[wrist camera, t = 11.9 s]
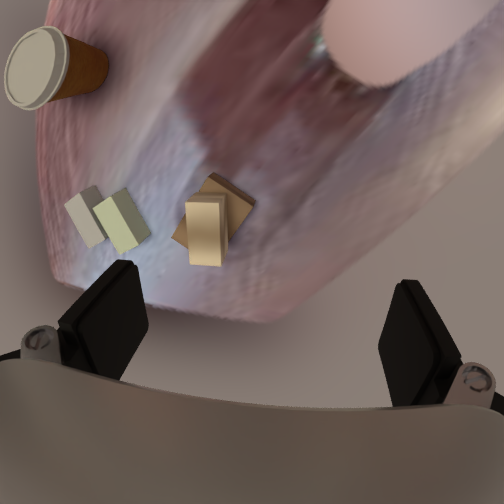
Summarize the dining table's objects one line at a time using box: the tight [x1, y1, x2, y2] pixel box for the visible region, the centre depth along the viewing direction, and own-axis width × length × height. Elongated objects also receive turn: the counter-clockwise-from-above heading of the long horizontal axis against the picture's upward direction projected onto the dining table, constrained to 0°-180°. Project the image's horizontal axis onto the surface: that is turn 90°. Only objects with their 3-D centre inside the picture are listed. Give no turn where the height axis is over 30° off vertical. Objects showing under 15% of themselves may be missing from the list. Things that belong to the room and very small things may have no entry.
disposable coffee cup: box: [4, 26, 109, 110], centre depth 25 cm, size 10×10×12 cm
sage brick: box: [93, 188, 151, 254], centre depth 37 cm, size 7×4×4 cm, turn 26°
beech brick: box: [185, 192, 228, 266], centre depth 33 cm, size 7×4×4 cm, turn 179°
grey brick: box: [64, 185, 109, 248], centre depth 38 cm, size 7×4×4 cm, turn 25°
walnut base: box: [171, 172, 256, 249], centre depth 37 cm, size 9×6×3 cm, turn 146°
